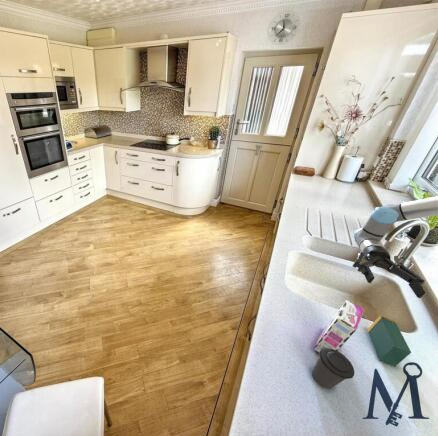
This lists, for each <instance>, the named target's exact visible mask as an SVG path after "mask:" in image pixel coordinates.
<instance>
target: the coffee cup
mask: <svg viewBox="0 0 438 436" xmlns="http://www.w3.org/2000/svg"><path fill="white" fill-rule="evenodd" d="M311 376H312V379H313V380H314V382H315V383H316V384H317V385H318V386H319V387H321V388H323V389H327V390H329V389H332V388H334V387H335V386H338V385H339V384H341V383H342V382H343V381H345V380H349V379H353V378H354V377H355V368H354V365H353V364H352V362H351V361H350V359H349V358H348V357H347V356H346V355H344V354H343V353H341V352H340V351H339V350H338V351H336V350H334V349H330V348H325V349H322V350H321V351H320V354H319V356H318V359H317V361H316V363H315V366H314V367H313V369H312V371H311Z"/></svg>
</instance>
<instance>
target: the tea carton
mask: <svg viewBox="0 0 438 436" xmlns="http://www.w3.org/2000/svg"><path fill="white" fill-rule="evenodd" d="M366 330H367V333H368V336H369V337H370V339H371V342H372V346H373V348H374V350H375V353H376V355H377V358H378V361H380V362H382V363H385V364H387V365H389V366H392V367H397V366H398V365H399V364H401V362H403V361H404V360H405V359H406V358H407V357H408V356H409V355H411V353H412V351H411V348H410V347H409V345H408V343H407V341H406V339H405V337H404V336H403V333H402V332H401V330H400V328H399V326H398V323H397V321H396V320H394V319H392V318H389V317H385V316H384V315H383V316H382V315H378V316H377V318H376V319H375V320H374V321H373V323H371V324H370V326H369V327H368V328H367V329H366Z"/></svg>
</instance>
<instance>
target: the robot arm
mask: <svg viewBox="0 0 438 436" xmlns="http://www.w3.org/2000/svg"><path fill="white" fill-rule="evenodd" d="M435 216H438V195H436V196H430V197H425V198H421V199H416V200H410V201H407V202H406V201H405V202H402V203H397V204H396V203H395V204H394V203H393V204H392V203H391V204H386V205H383V206H377V207H375V208H374V210H373V211H372V212H371V213H370V215H369V218H368V219H367V220H366V222H365V224H364V225H363V227H361V228H358V229H356V230H355V231H354V232H353V239H354V241H355V243H356V245H357V247H358V249H359V251H360V252H359V253H358V254H357V256H356V260H355V261H354V262H353V264H352V267H353V268H354V269H355V268H357V272H360V273H361V275H363V276H364V278H365V279H366V282H367V284H371V283H372V282H373V281H374V280H375V275H374V273H373V272H372V270H371V268H372V267H376V268H379V269H383V270H385V271H387V272H388V273H392V274H394V275H395V276H397V277H399V278H400V279H402V280H404V281H405V282H407V283H408V286H409V287H410V290H411V291H412V292H413V293H414V295H415V296H416V298H418V299H421V298H422V297H423V296H424V295H425V294H426V291H425V289H424V287H423V285H424V283H426V280H425V279H423V278H422V277H421V276H419V275H418V274H417V273H415V272H414V271H412V270H411V269H409V268H408V267H407V266H406V265H405V264H404V263H403V262H399V261H398V263H396V262H394V261H393V260H392V259H391V254H390V253H389V251H388V250H387V248H386V247H385V245H384V244H383V243H382V240H383V238H384V237H385V236H386V234H387V233H388V231H390V229H391V227H392V226H393V225H394V224H396V223H397V222H405V221H409V220H417V219H423V218H428V217H435ZM363 260H365V261H364V262H362V261H363ZM361 262H362V263H361Z"/></svg>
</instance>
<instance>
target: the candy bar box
mask: <svg viewBox="0 0 438 436" xmlns="http://www.w3.org/2000/svg"><path fill="white" fill-rule="evenodd" d="M364 311H365V309H364V308H362V307H361V306H359V305H357V304H354V303H353V302H352V301H349V300H347V299H346V300H345V301H344V302H343V304H342V305H341V306H340V308H339V309H338V310H337V312H336V313H335V314H334V315H333V317H332V318H331V320H330V321H329V322H328V323H327V325H326V326H325V327H324V329H322V332H321V333H320V335H319V337H318V339H317V341H316V343H315V344H314V346H313V348H312V349H313V351H314V352H316V353H318V354H319V355H320V351H321V350H322V349H325V348H330V349H334V350H336V351H338V352H339V350H340V349H341V348H342V347H343V345H344V344H345V343H346V342H347V341H348V340H349V339H350V338H351V337H352V336H353V335H354V333H356V331H357V330H358V327H359V324H360V322H361V319H362V317H363V314H364Z"/></svg>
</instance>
